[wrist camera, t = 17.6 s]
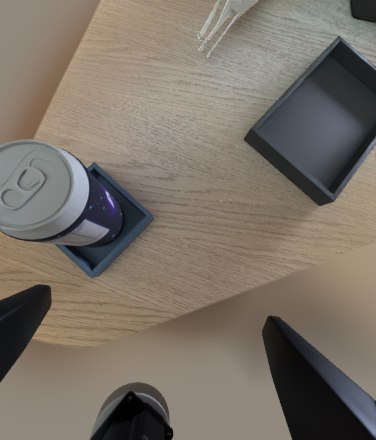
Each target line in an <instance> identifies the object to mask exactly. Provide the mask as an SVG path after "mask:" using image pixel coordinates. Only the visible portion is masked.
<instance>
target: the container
mask: <svg viewBox="0 0 376 440" xmlns="http://www.w3.org/2000/svg"><path fill="white" fill-rule="evenodd" d="M351 3H352V12H353V15H354V16H355V17H357V18H361V19H366V20H371V21H376V0H351Z"/></svg>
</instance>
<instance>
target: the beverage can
mask: <svg viewBox="0 0 376 440" xmlns="http://www.w3.org/2000/svg"><path fill="white" fill-rule="evenodd" d="M123 226H124V214H123V211H122V208H121V207H120V205H119V204H118V203H117V202H116V201H115V199H114V198H113V197H112V196H111V195H110V194H109V193H108V192H107V190H106V189H105V188H104V187H103V186H102V185H101V184H100V183H99V181H98V180H97V179H96V178H95V177H94V176H93V175H92V174H91V173H90V171H89V170H88V169H87V168H86V167H85V166H84V165H83V164H82V162H81V161H80V160H79V159H78V158H76V157H75V156H74V155H72V154H71V153H69V152H67V151H65V150H63V149H60V148H57V147H54V146H52V145H50V144H48V143H45V142H41V141H37V140H16V141H12V142H8V143H5V144H3V145H0V231H1V232H3V233H4V234H6V235H8V236H10V237H13V238H15V239H19V240H24V241H33V242H43V243H53V244H62V245H72V246H82V247H92V248H97V247H102V246H105V245H108V244H110V243H111V242H113V241H114V240H115V239H116V238H117V237H118V236H119V234H120V233H121V231H122V229H123Z"/></svg>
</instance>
